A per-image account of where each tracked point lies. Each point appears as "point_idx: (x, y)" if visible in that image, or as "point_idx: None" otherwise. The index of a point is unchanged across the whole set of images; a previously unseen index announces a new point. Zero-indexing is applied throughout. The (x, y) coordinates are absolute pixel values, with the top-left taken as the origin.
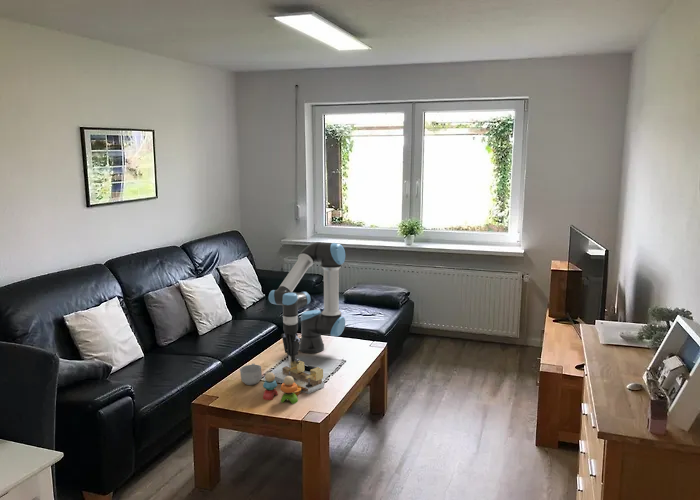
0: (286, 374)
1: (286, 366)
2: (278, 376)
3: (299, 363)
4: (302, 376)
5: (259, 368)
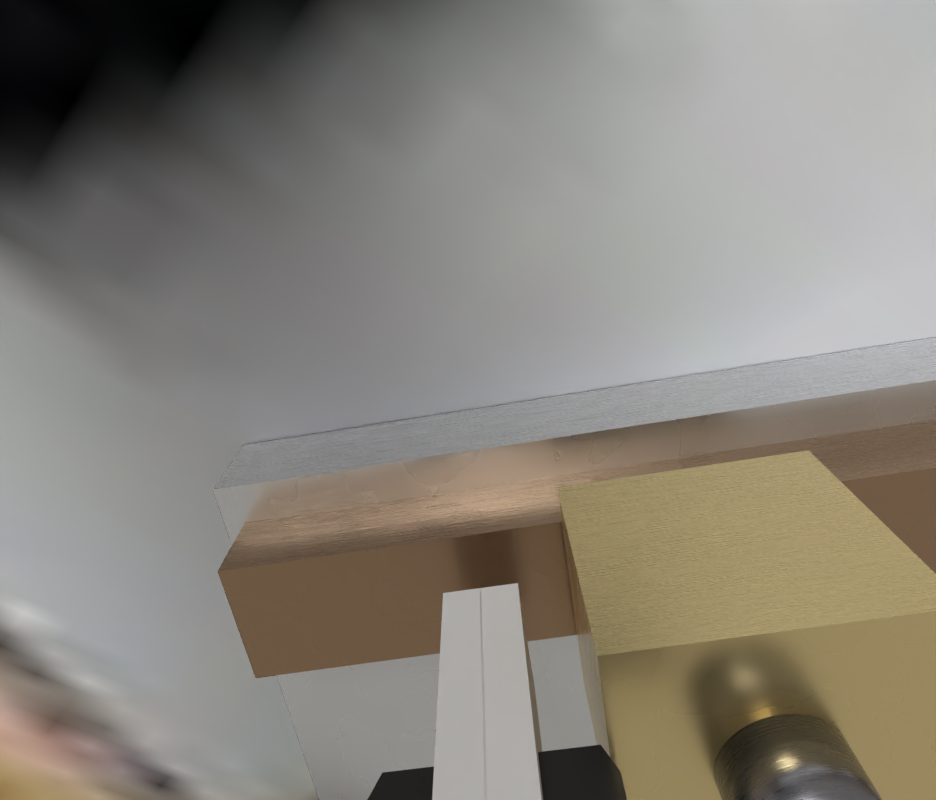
0: None
1: (226, 583)
2: None
3: (917, 769)
4: None
5: None
